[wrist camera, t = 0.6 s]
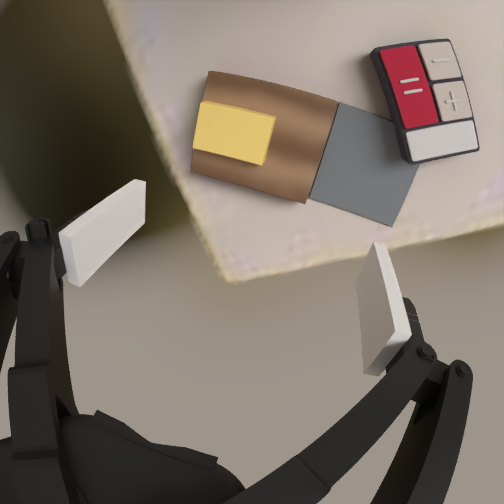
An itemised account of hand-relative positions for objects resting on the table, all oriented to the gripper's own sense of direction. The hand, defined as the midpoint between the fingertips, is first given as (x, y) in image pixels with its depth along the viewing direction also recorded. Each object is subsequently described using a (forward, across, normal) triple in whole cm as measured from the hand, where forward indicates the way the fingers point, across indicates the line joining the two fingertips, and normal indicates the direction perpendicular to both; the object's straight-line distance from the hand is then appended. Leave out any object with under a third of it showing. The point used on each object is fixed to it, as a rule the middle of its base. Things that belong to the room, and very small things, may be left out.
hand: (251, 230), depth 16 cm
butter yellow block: (+23, -7, 0) cm, 24 cm away
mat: (+26, +11, 0) cm, 28 cm away
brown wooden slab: (+26, -4, 0) cm, 26 cm away
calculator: (+26, +16, +12) cm, 32 cm away
